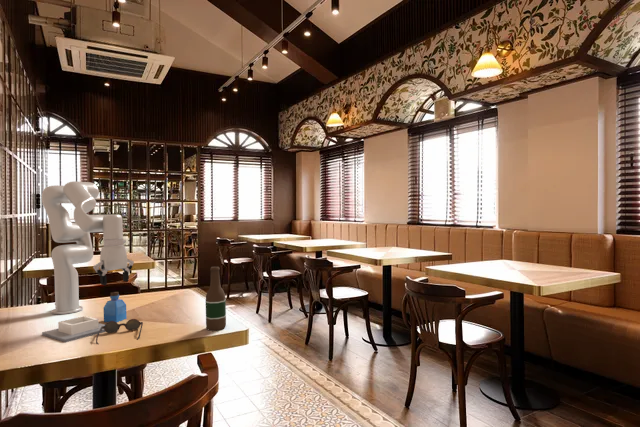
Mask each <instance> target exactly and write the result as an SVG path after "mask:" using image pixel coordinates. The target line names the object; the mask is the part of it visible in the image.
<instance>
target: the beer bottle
mask: <svg viewBox="0 0 640 427" xmlns="http://www.w3.org/2000/svg"><path fill="white" fill-rule="evenodd" d="M209 270H210V283H209V284H210V285H209V289H208V290H207V292H206V294H205V326H206V330H208V331H211V332H215V331H221V330H224V329H225V328H226V327H227V310H226V309H227V307H226V303H227V302H226V293H225V291H224V289H223V288H222V285H221V278H220V267H219V266H211V267H210V268H209Z"/></svg>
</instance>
